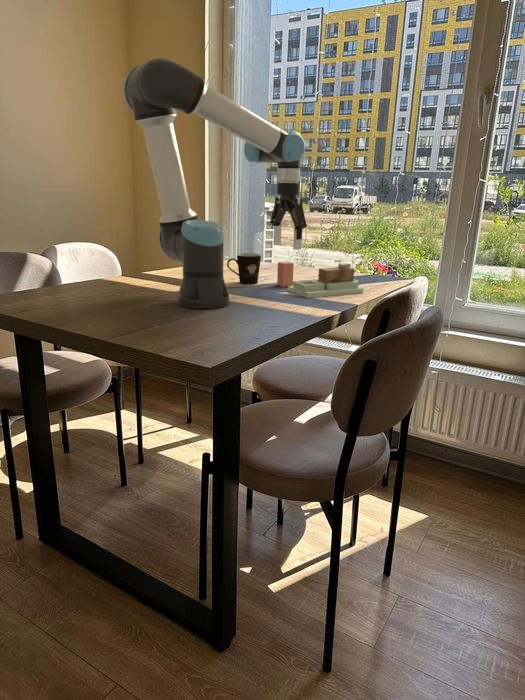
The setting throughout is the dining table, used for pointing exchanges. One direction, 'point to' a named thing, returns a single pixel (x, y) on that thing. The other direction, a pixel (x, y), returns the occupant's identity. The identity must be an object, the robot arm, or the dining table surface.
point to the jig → (318, 288)
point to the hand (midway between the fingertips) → (286, 247)
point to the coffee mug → (247, 267)
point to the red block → (285, 274)
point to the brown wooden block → (336, 274)
